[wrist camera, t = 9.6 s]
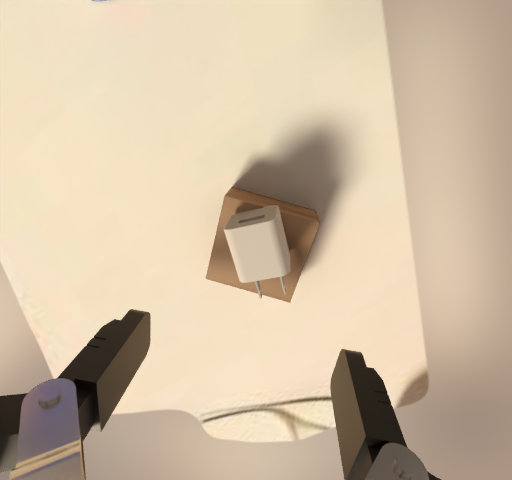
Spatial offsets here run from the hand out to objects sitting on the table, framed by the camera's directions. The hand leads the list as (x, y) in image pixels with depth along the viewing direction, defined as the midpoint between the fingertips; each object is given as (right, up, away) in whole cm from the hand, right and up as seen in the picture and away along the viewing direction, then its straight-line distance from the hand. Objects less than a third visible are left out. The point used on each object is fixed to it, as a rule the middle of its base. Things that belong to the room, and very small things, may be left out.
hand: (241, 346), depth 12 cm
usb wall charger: (+1, +4, +13) cm, 14 cm away
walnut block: (+1, +5, +17) cm, 18 cm away
